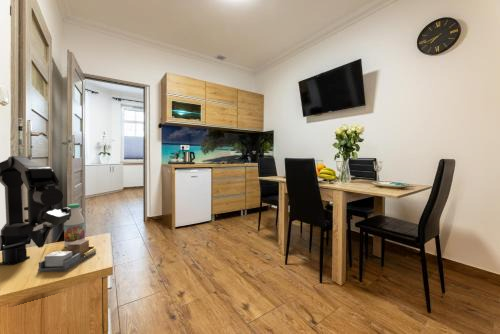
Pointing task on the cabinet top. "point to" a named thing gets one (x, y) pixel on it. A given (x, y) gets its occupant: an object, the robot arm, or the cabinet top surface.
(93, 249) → the grey tray
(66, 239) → the milk bottle
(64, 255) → the light grey block
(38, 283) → the cabinet top surface
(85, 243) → the housing
